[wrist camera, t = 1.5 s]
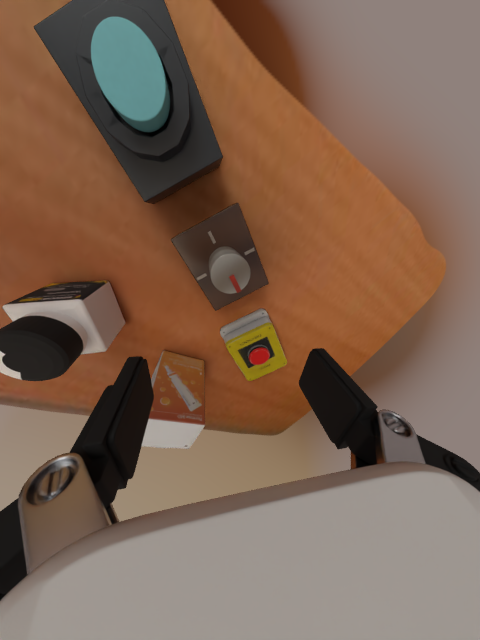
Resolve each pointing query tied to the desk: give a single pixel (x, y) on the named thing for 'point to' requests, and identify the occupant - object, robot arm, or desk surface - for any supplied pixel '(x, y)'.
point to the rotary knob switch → (214, 234)
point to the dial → (228, 270)
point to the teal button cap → (130, 73)
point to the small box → (176, 402)
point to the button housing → (125, 141)
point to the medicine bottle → (58, 328)
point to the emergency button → (254, 344)
